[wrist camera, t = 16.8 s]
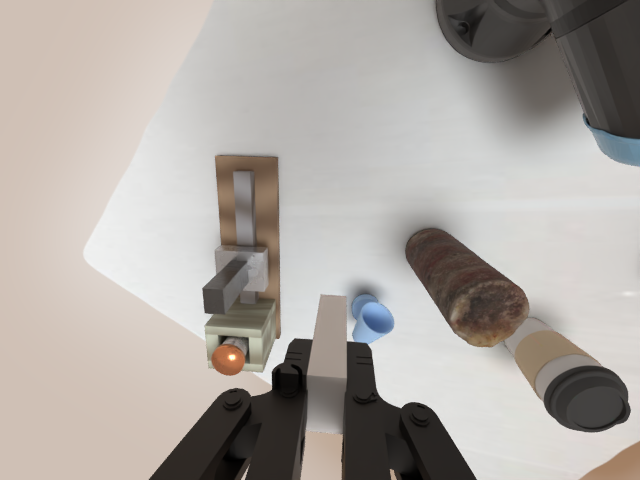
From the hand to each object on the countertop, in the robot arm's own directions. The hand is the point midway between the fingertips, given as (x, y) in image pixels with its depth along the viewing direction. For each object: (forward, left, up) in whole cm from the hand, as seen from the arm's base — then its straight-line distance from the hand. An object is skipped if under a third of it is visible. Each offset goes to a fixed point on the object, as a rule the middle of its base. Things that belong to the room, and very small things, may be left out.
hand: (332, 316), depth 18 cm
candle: (+5, +14, -30) cm, 33 cm away
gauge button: (+18, -14, -25) cm, 34 cm away
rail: (+7, -14, -29) cm, 33 cm away
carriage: (+8, -14, -26) cm, 30 cm away
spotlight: (+15, +5, -30) cm, 34 cm away
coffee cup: (+19, +31, -30) cm, 47 cm away
